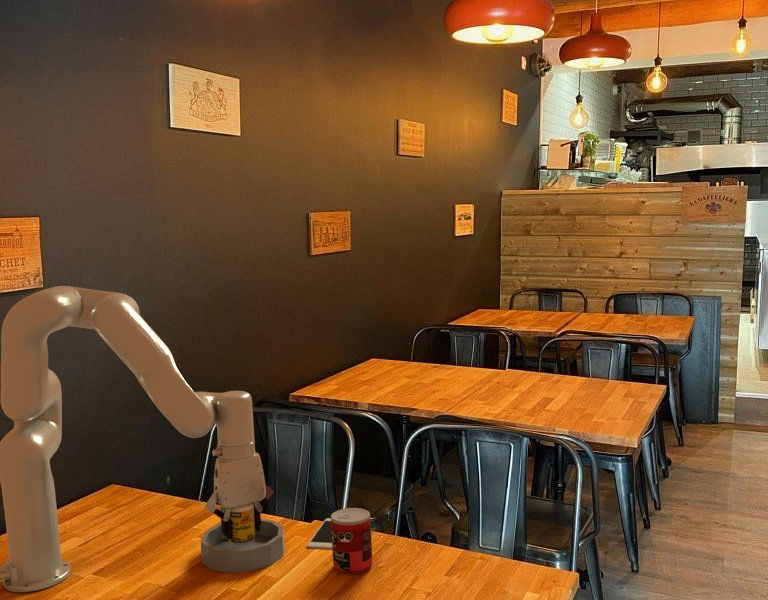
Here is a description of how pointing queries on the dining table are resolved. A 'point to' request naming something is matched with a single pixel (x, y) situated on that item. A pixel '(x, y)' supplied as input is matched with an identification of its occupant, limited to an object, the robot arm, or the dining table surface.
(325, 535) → the smartphone
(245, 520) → the supplement bottle
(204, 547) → the bowl
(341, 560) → the canned food
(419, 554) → the dining table surface
